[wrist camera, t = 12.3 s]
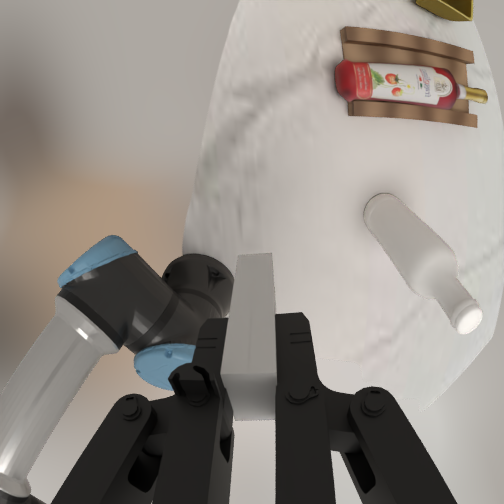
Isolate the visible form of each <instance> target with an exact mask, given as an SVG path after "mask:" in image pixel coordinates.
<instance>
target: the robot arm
mask: <svg viewBox="0 0 504 504" xmlns="http://www.w3.org/2000/svg"><path fill="white" fill-rule="evenodd" d="M58 284H59V287H60V288H62V290H61V291H60V292H59V294H58V295H57V296H56V297H55V306H56V313H55V316H54V317H53V319H52V320H51V321H50V322H49V324H48V325H47V326H46V328H45V329H44V330H43V332H42V333H41V334H40V336H39V337H38V339H37V340H36V341H35V343H34V344H33V345H32V347H31V349H30V350H29V351H28V353H27V354H26V355H25V357H24V358H23V360H22V362H21V363H20V364H19V366H18V367H17V369H16V370H15V372H14V374H13V375H12V377H11V378H10V380H9V381H8V383H7V385H6V386H5V388H4V389H3V391H2V393H1V394H0V504H46V503H44V502H43V501H41V500H39V499H37V498H36V497H34V496H32V495H31V494H30V493H31V487H30V484H29V482H28V480H27V478H26V477H27V475H28V473H29V471H30V470H31V468H32V466H33V464H34V462H35V461H36V459H37V457H38V455H39V454H40V452H41V450H42V449H43V447H44V445H45V443H46V441H47V440H48V438H49V436H50V435H51V433H52V432H53V430H54V428H55V427H56V425H57V424H58V422H59V420H60V418H61V417H62V416H63V414H64V412H65V411H66V409H67V408H68V406H69V404H70V403H71V401H72V400H73V398H74V397H75V395H76V394H77V392H78V391H79V389H80V388H81V386H82V384H83V383H84V381H85V380H86V378H87V377H88V375H89V374H90V373H91V371H92V369H93V368H94V367H95V365H96V364H97V362H98V361H99V359H100V358H101V356H103V355H106V354H114V353H117V352H118V351H119V350H120V348H121V347H122V345H124V346H126V347H127V348H128V349H129V350H130V351H132V352H133V353H134V354H135V357H134V367H135V369H136V372H137V374H138V375H139V376H140V377H141V378H142V379H143V380H145V381H146V382H148V383H150V384H151V385H153V386H156V387H159V388H162V389H166V390H171V391H174V392H175V395H173V396H170V397H167V398H163V399H158V400H153V401H148V399H147V398H146V397H144V396H142V395H140V394H129V395H125V396H123V397H122V398H120V399H119V400H118V401H117V402H116V403H115V404H114V406H113V407H112V409H111V410H110V412H109V413H108V415H107V416H106V418H105V419H104V421H103V422H102V424H101V425H100V427H99V428H98V430H97V431H96V433H95V434H94V436H93V438H92V439H91V441H90V442H89V444H88V445H87V447H86V448H85V450H84V451H83V453H82V455H81V456H80V458H79V459H78V461H77V462H76V464H75V465H74V467H73V469H72V470H71V472H70V473H69V475H68V477H67V478H66V480H65V481H64V483H63V485H62V486H61V488H60V490H59V491H58V493H57V495H56V496H55V498H54V499H53V501H52V503H51V504H151V503H152V504H229V496H230V484H231V471H232V459H233V447H234V430H233V427H232V423H233V416H234V419H235V421H243V420H244V421H249V420H275V421H276V422H275V423H276V501H275V502H276V503H275V504H336V500H335V488H334V478H333V468H332V459H331V450H332V451H338V452H340V454H341V456H342V458H343V460H344V463H345V465H346V467H347V470H348V472H349V474H350V476H351V478H352V481H353V483H354V485H355V488H356V490H357V492H358V494H359V497H360V499H361V501H362V503H363V504H457V502H456V500H455V499H454V497H453V495H452V493H451V492H450V490H449V488H448V486H447V485H446V483H445V481H444V479H443V477H442V476H441V474H440V472H439V470H438V469H437V467H436V465H435V464H434V462H433V460H432V459H431V457H430V455H429V454H428V452H427V450H426V448H425V447H424V445H423V443H422V442H421V440H420V439H419V437H418V436H417V434H416V432H415V430H414V429H413V427H412V425H411V424H410V422H409V421H408V419H407V417H406V416H405V414H404V413H403V411H402V409H401V408H400V406H399V405H398V403H397V402H396V400H395V398H394V397H393V396H392V395H391V394H390V393H389V392H388V391H387V390H385V389H383V388H381V387H367V388H363V389H362V390H359V391H358V392H356V393H355V395H353V394H346V393H339V392H336V391H332V390H330V389H328V388H327V387H326V386H324V385H323V384H322V382H321V381H320V380H319V377H318V374H317V367H316V361H315V354H314V348H313V343H312V336H311V330H310V324H309V320H308V319H307V318H306V317H305V315H304V314H303V313H302V312H299V313H286V314H276V300H275V287H274V274H273V262H272V253H264V254H251V255H238V260H237V266H236V273H235V279H234V278H233V276H232V274H231V273H230V271H229V270H228V269H227V268H226V267H225V266H224V265H223V264H222V263H220V262H219V261H217V260H215V259H213V258H211V257H208V256H204V255H198V254H190V255H184V256H181V257H179V258H177V259H175V260H174V261H172V262H171V263H170V264H169V265H168V267H167V268H166V270H165V272H164V274H163V276H162V278H161V277H160V276H159V275H158V274H157V273H156V272H155V271H154V270H153V269H152V268H151V267H150V266H149V265H148V264H147V263H146V262H145V261H144V260H143V259H142V258H141V257H140V256H139V255H138V252H137V251H136V250H133V249H132V248H131V247H130V246H129V245H128V244H127V243H126V242H125V241H124V240H122V238H121V237H119V236H116V235H111V236H107V237H105V238H104V239H102V240H101V241H99V242H98V243H97V244H95V245H94V246H93V247H91V248H90V249H89V250H88V251H86V252H85V253H84V254H83V255H82V256H80V257H79V258H78V259H77V260H76V261H75V262H74V263H73V264H72V265H71V266H70V267H69V268H68V269H66V270H65V271H64V272H63V273H62V274H61V275H60V277H59V278H58ZM229 311H230V312H229ZM228 312H229V318H225V316H226V315H227V314H228ZM152 501H153V502H152Z"/></svg>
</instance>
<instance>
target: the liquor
mask: <svg viewBox="0 0 504 504" xmlns="http://www.w3.org/2000/svg"><path fill="white" fill-rule="evenodd" d="M335 82H336V88H337V91H338V93H339V94H340V95H341V96H342V97H343V98H344V99H345V100H347V101H348V102H351V101H352V100H354V99H362V100H380V101H391V102H400V103H407V104H413V105H420V106H426V107H433V108H439V109H444V110H449V109H451V108H452V107H453V106H454V104H455V102H456V99H465V100H473V101H475V102H478V103H483V104H485V103H486V102H487V99H488V96H487V93H486V91H485V90H483V89H479V88H469V87H467V86H464V85H461V84H457V83H456V81H455V79H454V77H453V75H452V73H451V72H450V71H449V70H448V69H445V68H439V67H431V66H423V65H412V64H394V63H374V62H351V61H349V60H347V59H344V60H343V61H342V62H341V63H339V64H338V65H337V66H336V68H335Z"/></svg>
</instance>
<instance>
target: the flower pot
mask: <svg viewBox="0 0 504 504" xmlns="http://www.w3.org/2000/svg"><path fill="white" fill-rule="evenodd" d="M416 4H417V5H419V6H421V7H423V8H425V9H427V10H428V11H430V12H432V13H434V14H436V15H438V16H440V17H442V18H444V19H447V20H450V21H472V19H473V0H416Z"/></svg>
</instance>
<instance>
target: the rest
mask: <svg viewBox="0 0 504 504" xmlns="http://www.w3.org/2000/svg"><path fill="white" fill-rule="evenodd" d="M340 33H341V40H342V48H343V57H344V59H347V60H349V61H351V62H374V63H394V64H412V65H423V66H431V67H439V68H445V69H448V70H449V71H450V72H451V73H452V75H453V77H454V79H455V81H456V83H457V84H461V85H464V86H467V87H468V83H467V71H466V64H472V63H474V56H473V51H470V50H467V49H464V48H461V47H457V46H454V45H451V44H447V43H443V42H439V41H436V40H431V39H427V38H423V37H418V36H413V35H408V34H403V33H397V32H391V31H384V30H377V29H369V28H359V27H348V26H345V27H344V28H343V29H342V30H340ZM348 116H368V117H390V118H404V119H416V120H426V121H435V122H443V123H450V124H457V125H463V126H470V127H475V128H477V115H474V114H469V104H468V100H465V99H456V102H455V104H454V106H453V107H452V108H451V109H449V110H444V109H439V108H433V107H426V106H420V105H413V104H407V103H400V102H391V101H380V100H362V99H354V100H352V101H351V102H348Z"/></svg>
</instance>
